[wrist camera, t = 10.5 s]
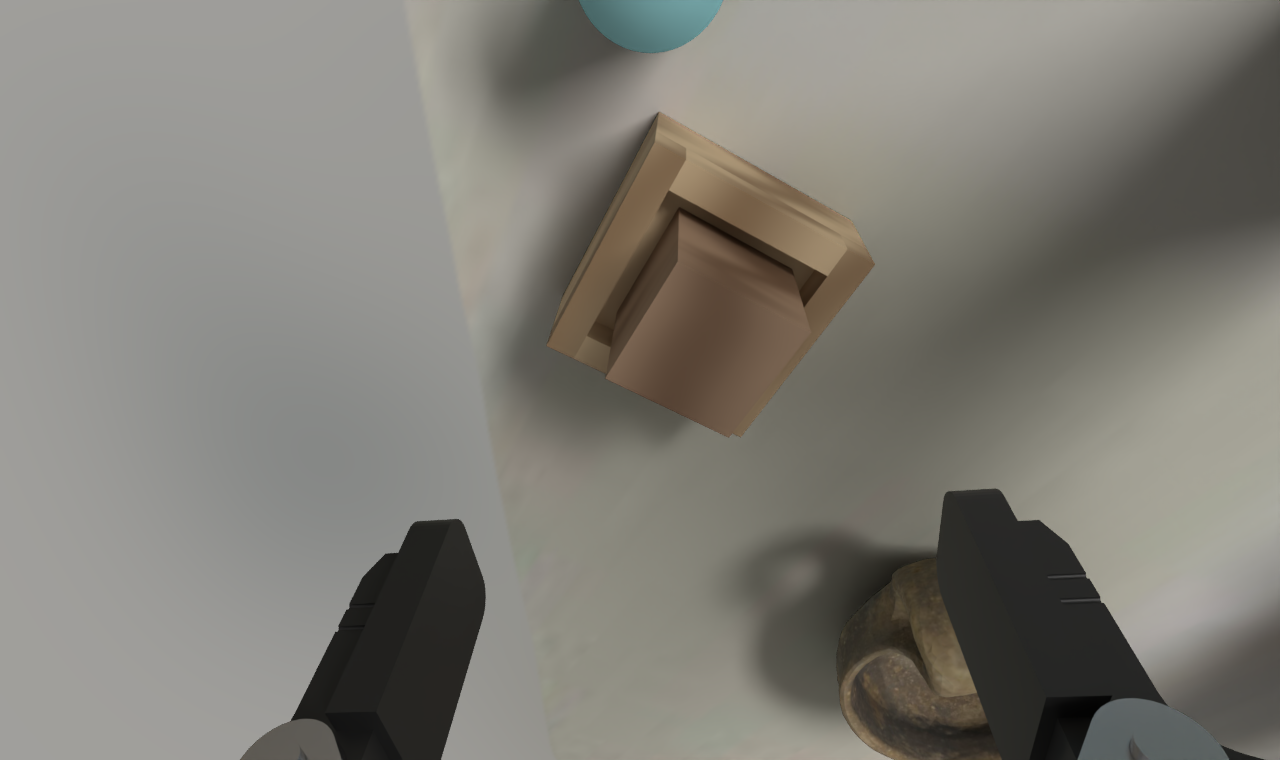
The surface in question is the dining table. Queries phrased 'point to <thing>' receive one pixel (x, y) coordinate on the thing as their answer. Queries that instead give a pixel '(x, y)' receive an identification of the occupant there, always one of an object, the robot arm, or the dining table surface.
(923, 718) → the bowl
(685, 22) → the teal cylinder
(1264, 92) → the dining table surface
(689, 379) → the walnut block
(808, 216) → the oak base
